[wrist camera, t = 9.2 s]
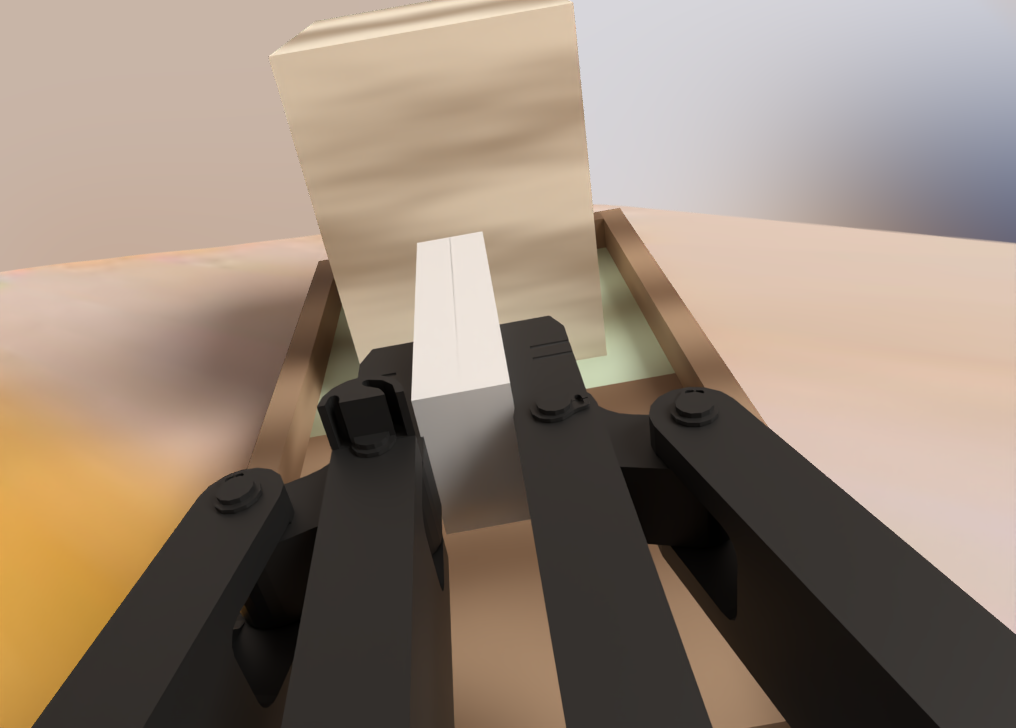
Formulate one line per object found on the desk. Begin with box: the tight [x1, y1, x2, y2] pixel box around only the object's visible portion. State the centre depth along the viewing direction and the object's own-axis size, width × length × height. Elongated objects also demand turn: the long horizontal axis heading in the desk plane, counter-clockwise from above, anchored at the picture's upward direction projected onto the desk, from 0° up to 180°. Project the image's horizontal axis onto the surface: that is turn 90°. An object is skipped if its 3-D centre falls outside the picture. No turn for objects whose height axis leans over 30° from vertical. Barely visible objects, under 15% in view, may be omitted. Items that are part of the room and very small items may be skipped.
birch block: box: [269, 0, 607, 363], centre depth 29 cm, size 10×9×12 cm
